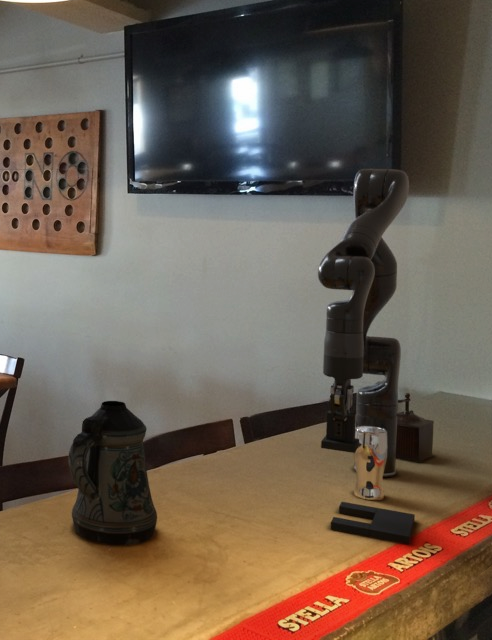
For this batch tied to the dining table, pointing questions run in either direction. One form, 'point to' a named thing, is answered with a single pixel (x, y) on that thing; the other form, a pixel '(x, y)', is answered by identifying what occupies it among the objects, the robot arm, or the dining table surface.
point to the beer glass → (370, 461)
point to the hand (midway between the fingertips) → (340, 436)
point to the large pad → (375, 523)
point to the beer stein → (112, 478)
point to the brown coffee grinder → (413, 435)
